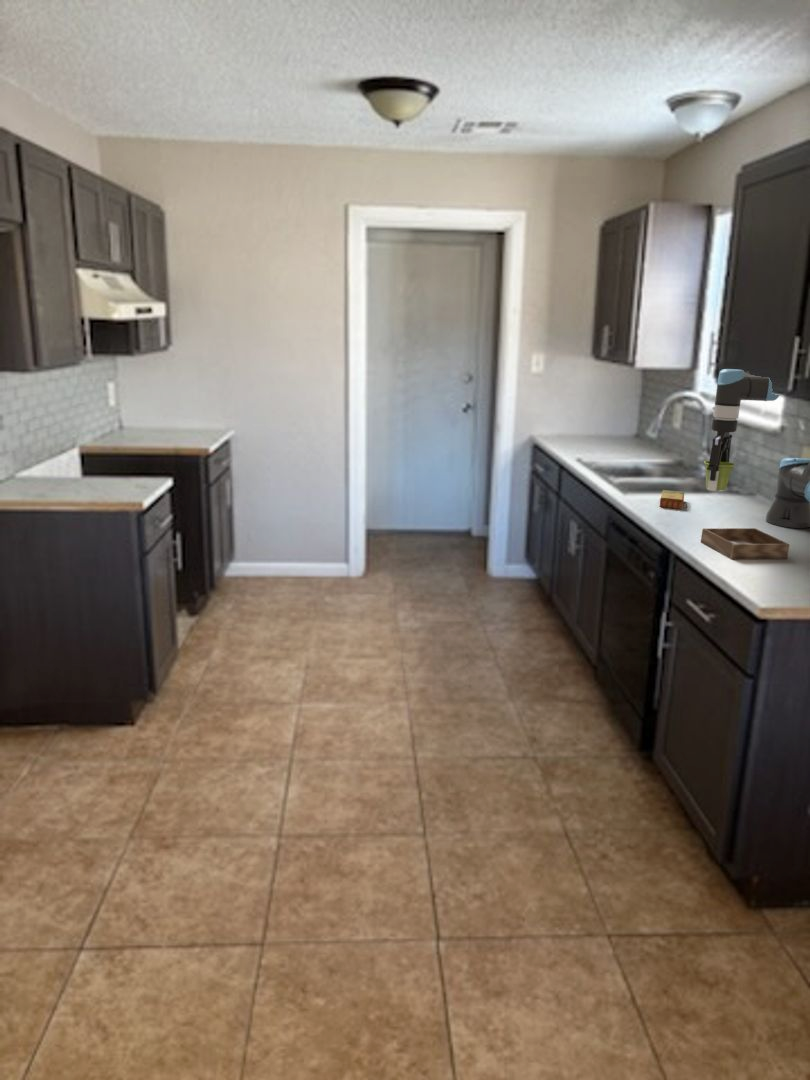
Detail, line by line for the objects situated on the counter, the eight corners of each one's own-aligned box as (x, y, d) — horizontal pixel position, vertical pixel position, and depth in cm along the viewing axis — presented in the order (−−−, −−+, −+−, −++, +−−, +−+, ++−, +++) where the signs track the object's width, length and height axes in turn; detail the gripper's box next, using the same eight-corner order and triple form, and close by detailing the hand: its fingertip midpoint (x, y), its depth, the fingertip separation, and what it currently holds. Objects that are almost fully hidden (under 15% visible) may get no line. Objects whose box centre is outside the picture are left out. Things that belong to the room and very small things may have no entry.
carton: (658, 508, 305) (660, 497, 303) (660, 499, 319) (662, 489, 318) (682, 510, 302) (683, 499, 301) (683, 502, 317) (684, 491, 316)
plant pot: (703, 484, 276) (706, 459, 273) (733, 488, 272) (736, 462, 269) (698, 489, 268) (701, 463, 265) (728, 493, 264) (732, 466, 261)
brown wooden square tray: (752, 541, 263) (755, 528, 262) (787, 558, 246) (789, 544, 244) (700, 542, 260) (702, 528, 258) (731, 559, 243) (733, 544, 241)
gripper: (722, 414, 274) (713, 481, 280) (703, 420, 257) (694, 491, 263) (745, 416, 270) (735, 484, 276) (728, 422, 253) (718, 495, 259)
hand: (715, 488), depth 270 cm, fingers closed on plant pot, 8 cm apart
